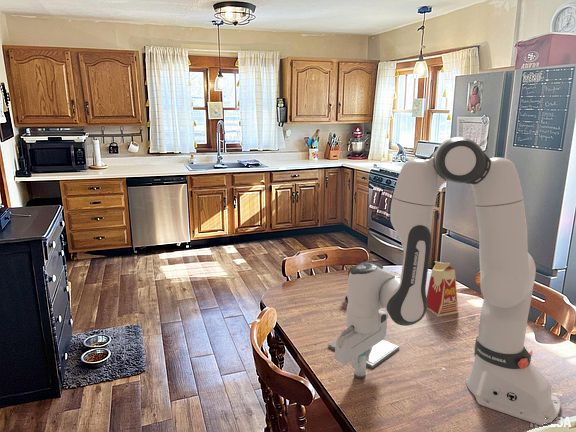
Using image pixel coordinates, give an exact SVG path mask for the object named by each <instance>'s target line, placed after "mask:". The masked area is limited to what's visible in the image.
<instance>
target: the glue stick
mask: <svg viewBox="0 0 576 432" xmlns="http://www.w3.org/2000/svg"><path fill="white" fill-rule="evenodd" d="M366 355H367V351H365V352H364V353H362V354H361V355H360V356H358V359H357V361H359V362H360V367H358V368H357V369H355V368H354V374H353V375H354V378H356V379H357V380H364V379H366V376H367V375H366V374H367V366H366Z"/></svg>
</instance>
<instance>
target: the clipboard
mask: <svg viewBox="0 0 576 432" xmlns="http://www.w3.org/2000/svg"><path fill="white" fill-rule="evenodd" d="M336 341H337V339H335V340H334V341H332V342H329V344H328V348H330V349H332V350H333V351H335V347H336ZM399 350H400V346H399V345H397V344H396V343H395V344H394V343H392V342H390V341H387V340H386V339H383V340H382V341H380V342H379V343H377V344H376V345H374V346H373V347H372V351H371V353H370V355H369V360H368V361H367V362H366V367H368V368H371V369H374V368H375V367H377V366H378V365H379V364H381V363H382V362H384V361H385V360H386V359H388V358H389V357H390V356H391V355H394V354H395V353H396V352H397V351H399Z"/></svg>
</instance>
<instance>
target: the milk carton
mask: <svg viewBox="0 0 576 432" xmlns="http://www.w3.org/2000/svg"><path fill="white" fill-rule="evenodd" d="M434 263H435V264H434V266H433V268H432V270H431V273H430V278H429V282H428V287H427V292H426V298H427V303H428V307H427V311H430V312H432V313H433V314H434V315H435V316H437V317H438V318H439V317H443V316H448V315H449V316H450V315H454V314H459V306H458V305H459V304H458V292H457V279H456V269H455V268H453V267H452V266H450V265H451V262H440V261H435V260H434Z"/></svg>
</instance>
